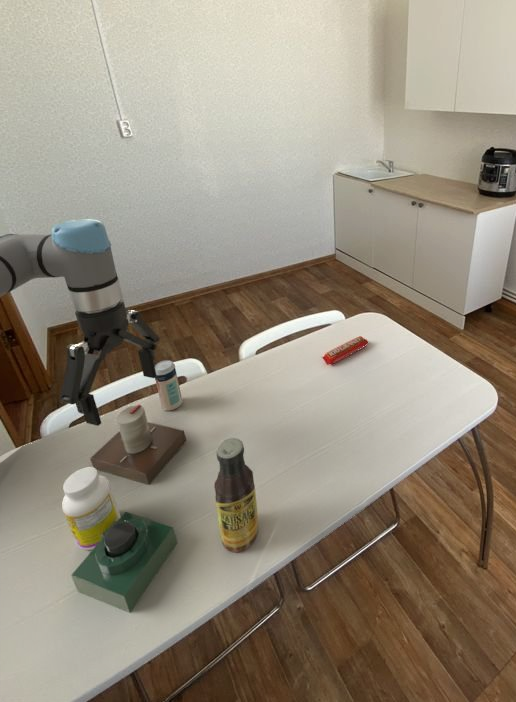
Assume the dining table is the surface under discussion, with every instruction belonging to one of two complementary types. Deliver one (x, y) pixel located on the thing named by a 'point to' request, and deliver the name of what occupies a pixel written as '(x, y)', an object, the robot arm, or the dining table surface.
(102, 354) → the robot arm
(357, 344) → the candy bar
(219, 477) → the sauce bottle
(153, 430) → the dial panel
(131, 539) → the dark grey push button
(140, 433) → the dial
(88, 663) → the dining table surface
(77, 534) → the supplement bottle
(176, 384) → the pale pink canister
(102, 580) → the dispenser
